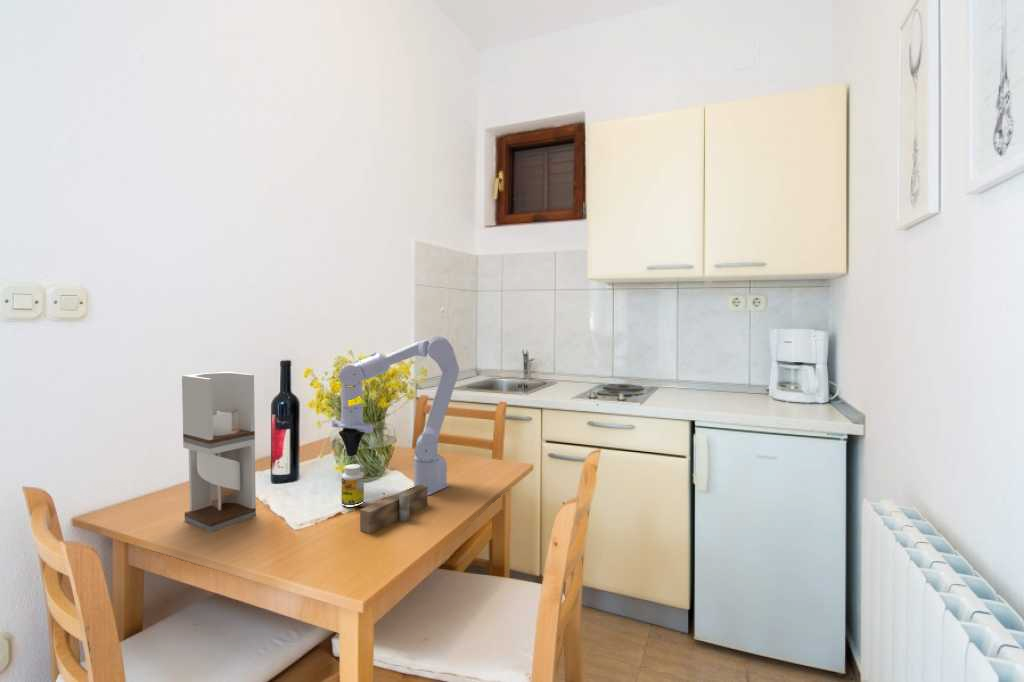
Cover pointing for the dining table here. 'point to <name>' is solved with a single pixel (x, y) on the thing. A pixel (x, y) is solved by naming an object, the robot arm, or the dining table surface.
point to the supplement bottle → (352, 485)
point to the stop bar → (393, 509)
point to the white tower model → (219, 448)
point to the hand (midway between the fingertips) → (351, 455)
